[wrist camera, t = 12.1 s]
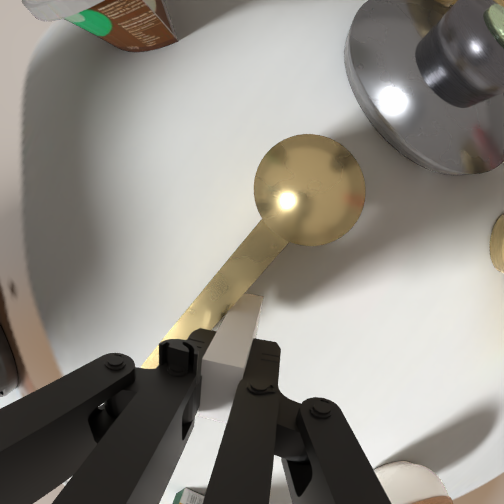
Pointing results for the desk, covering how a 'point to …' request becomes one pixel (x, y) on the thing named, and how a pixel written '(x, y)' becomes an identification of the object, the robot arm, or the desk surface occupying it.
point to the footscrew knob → (282, 221)
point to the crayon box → (188, 497)
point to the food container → (113, 20)
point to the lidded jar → (411, 484)
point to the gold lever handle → (498, 245)
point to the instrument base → (412, 96)
